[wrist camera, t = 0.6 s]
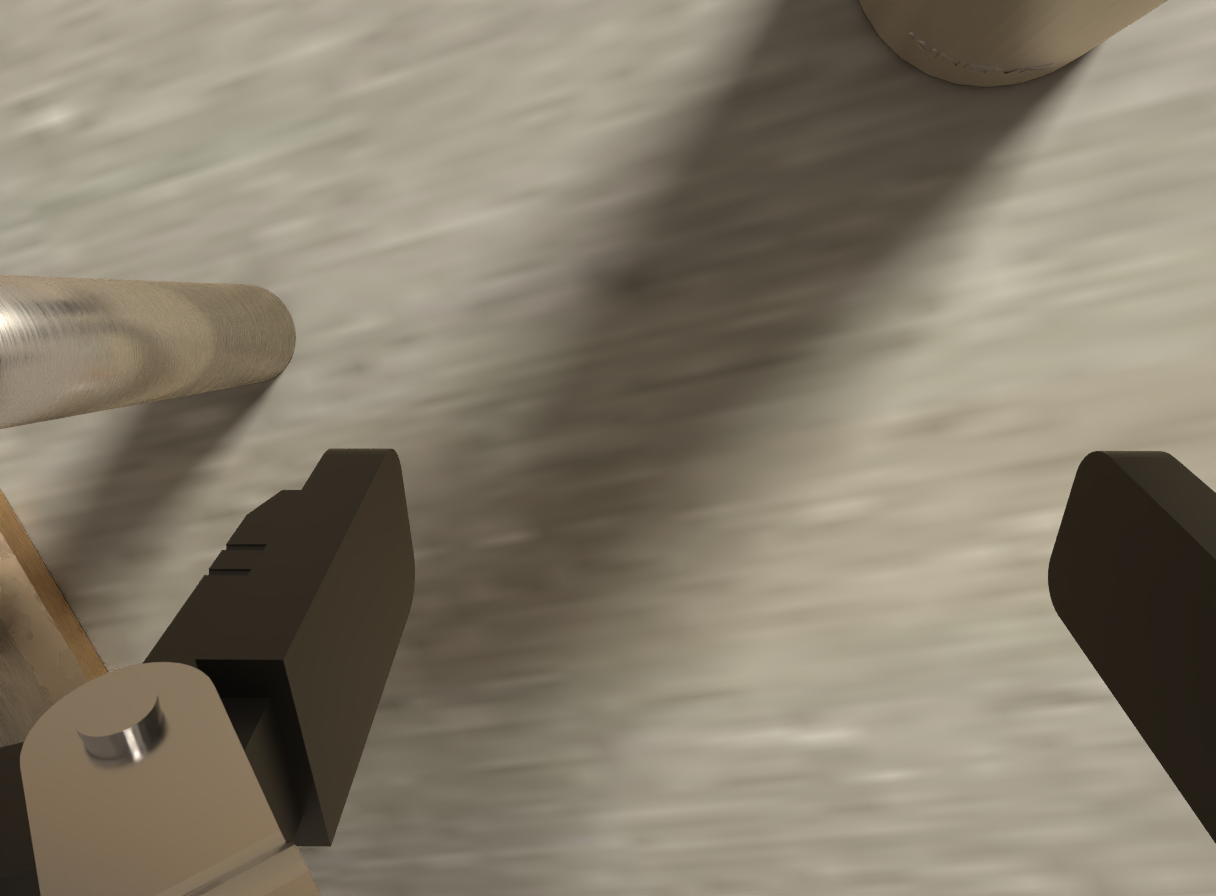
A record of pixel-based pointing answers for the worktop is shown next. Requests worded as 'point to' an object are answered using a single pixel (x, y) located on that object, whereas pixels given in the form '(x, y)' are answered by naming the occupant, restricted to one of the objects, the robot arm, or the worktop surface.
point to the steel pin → (131, 343)
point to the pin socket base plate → (35, 636)
